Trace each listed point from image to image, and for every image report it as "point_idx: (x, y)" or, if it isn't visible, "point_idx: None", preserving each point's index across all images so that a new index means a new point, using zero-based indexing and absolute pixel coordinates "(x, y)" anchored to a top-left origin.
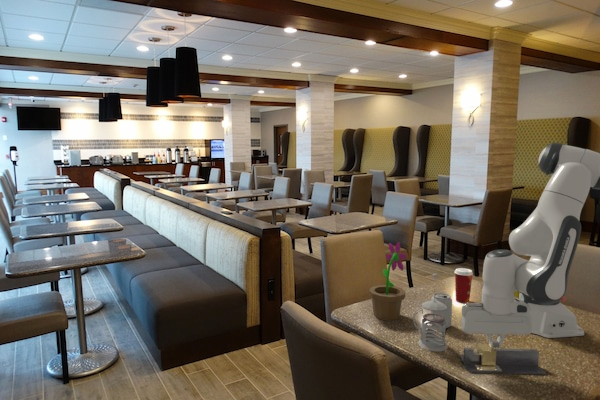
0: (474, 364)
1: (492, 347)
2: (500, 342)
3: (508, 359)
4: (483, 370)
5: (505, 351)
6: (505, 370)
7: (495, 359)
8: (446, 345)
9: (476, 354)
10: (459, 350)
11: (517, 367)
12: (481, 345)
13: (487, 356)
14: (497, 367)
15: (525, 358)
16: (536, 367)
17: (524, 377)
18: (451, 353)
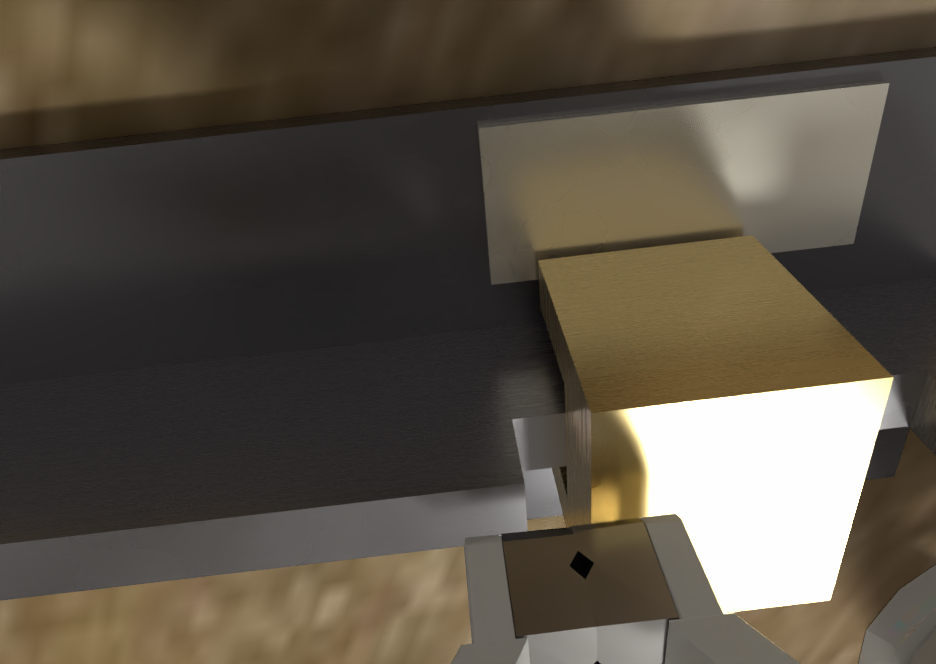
0: (831, 263)
1: None
2: (489, 640)
3: (306, 396)
4: (788, 92)
5: (354, 488)
6: (410, 154)
7: (563, 309)
8: (907, 623)
9: None
10: None
11: (191, 281)
12: (779, 570)
13: (729, 324)
14: (521, 214)
15: (17, 445)
16: None
17: (120, 18)
18: (926, 502)
